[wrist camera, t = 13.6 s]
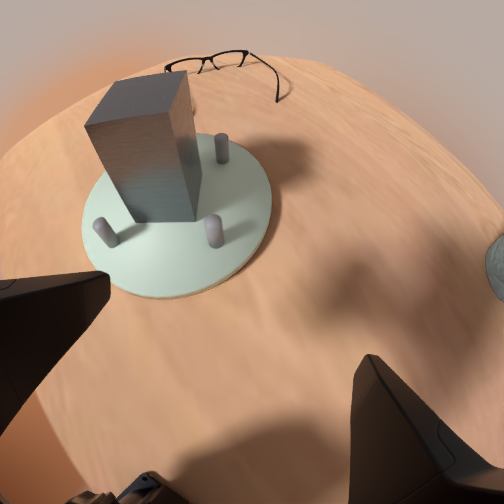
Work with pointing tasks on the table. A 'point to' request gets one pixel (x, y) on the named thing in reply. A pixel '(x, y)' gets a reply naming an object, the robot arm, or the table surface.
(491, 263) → the embossed blue-grey cup
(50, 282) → the robot arm
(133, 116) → the block
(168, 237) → the pin plate
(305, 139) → the table surface
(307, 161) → the table surface
